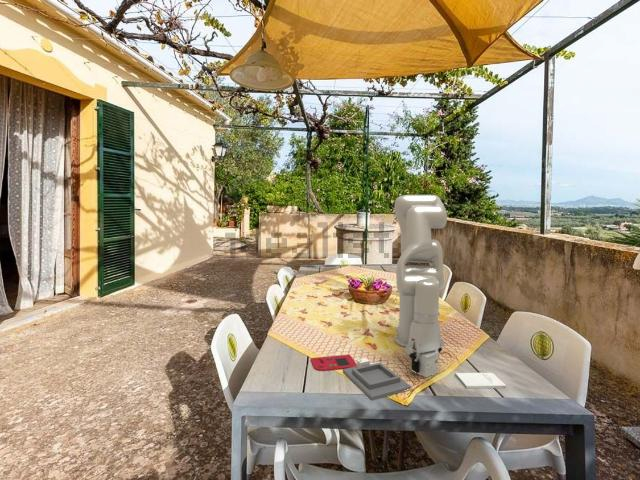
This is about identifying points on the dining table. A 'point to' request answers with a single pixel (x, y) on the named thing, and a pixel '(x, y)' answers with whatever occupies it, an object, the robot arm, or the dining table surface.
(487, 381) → the external hard drive
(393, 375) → the charging dock
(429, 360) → the skincare box
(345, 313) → the dining table surface
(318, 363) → the handheld gaming console
